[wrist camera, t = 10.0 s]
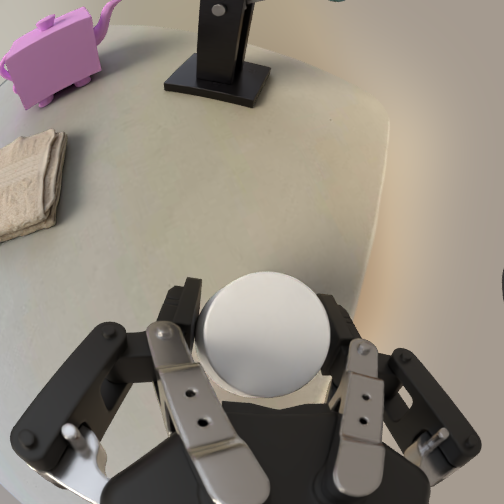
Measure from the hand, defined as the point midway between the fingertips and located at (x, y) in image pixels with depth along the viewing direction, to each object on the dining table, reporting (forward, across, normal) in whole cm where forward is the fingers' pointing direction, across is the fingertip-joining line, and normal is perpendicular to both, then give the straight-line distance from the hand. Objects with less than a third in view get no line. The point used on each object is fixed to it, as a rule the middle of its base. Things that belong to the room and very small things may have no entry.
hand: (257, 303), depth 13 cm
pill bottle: (+3, 0, +6) cm, 7 cm away
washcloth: (+10, +27, 0) cm, 29 cm away
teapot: (+25, +29, -16) cm, 41 cm away
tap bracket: (+24, +6, -15) cm, 29 cm away
